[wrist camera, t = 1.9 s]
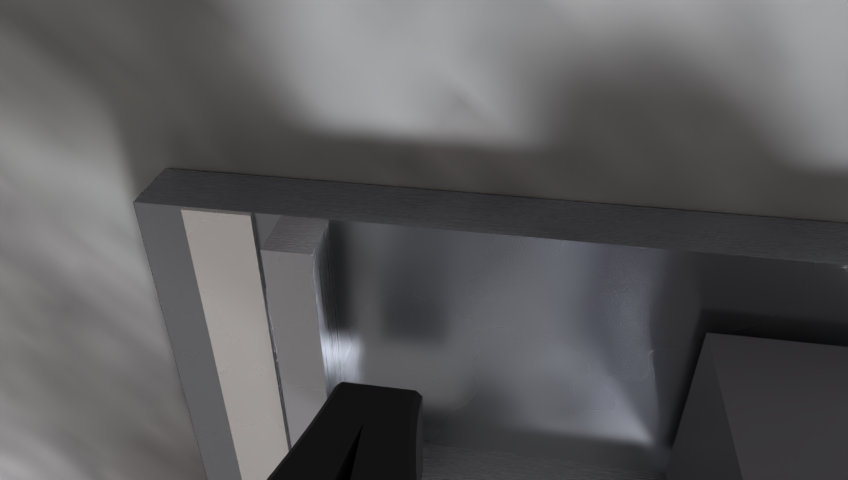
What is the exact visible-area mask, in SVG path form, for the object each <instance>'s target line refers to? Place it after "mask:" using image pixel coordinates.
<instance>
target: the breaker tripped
mask: <svg viewBox="0 0 848 480" xmlns="http://www.w3.org/2000/svg"><path fill="white" fill-rule="evenodd" d="M666 479H667V480H848V347H843V346H833V345H823V344H814V343H804V342H794V341H784V340H775V339H765V338H755V337H745V336H736V335H726V334H716V333H706V336H705V340H704V343H703V346H702V350H701V353H700V357H699V360H698V363H697V367H696V370H695V374H694V377H693V380H692V384H691V387H690V391H689V394H688V397H687V401H686V404H685V408H684V411H683V414H682V418H681V421H680V424H679V428H678V431H677V435H676V438H675V441H674V445H673V448H672V452H671V455H670V458H669V462H668V465H667V469H666Z"/></svg>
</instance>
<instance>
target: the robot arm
mask: <svg viewBox="0 0 848 480" xmlns="http://www.w3.org/2000/svg"><path fill="white" fill-rule="evenodd" d="M422 473H423V396H422V395H420V394H419V393H418V392H417V391H416V390H409V389H400V388H392V387H383V386H375V385H366V384H358V383H350V382H341V383H339V384H338V385H336V386H335V388H334V389H333V391H332V393H331V394H330V396H329V397H328V399H327V400H326V402H325V403H324V404H323V406H322V407H321V409H320V410H319V412H318V413H317V415H316V416H315V417H314V419H313V420H312V422H311V423H310V424H309V426H308V427H307V428H306V430H305V431H304V432H303V434H302V435H301V436H300V438H299V439H298V440H297V442H296V443H295V444H294V446H293V447H292V448H291V450H290V451H289V452H288V453H287V455H286V456H285V457H284V458H283V460H282V461H281V462H280V463H279V465H278V466H277V467H276V468H275V470H274V471H273V472H272V473H271V475H270V476H269V477H268V478H267V480H422Z"/></svg>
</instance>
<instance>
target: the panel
mask: <svg viewBox="0 0 848 480" xmlns="http://www.w3.org/2000/svg"><path fill="white" fill-rule="evenodd" d="M133 204H134V207H135V211H136V215H137V219H138V222H139V226H140V230H141V233H142V237H143V241H144V245H145V248H146V252H147V256H148V260H149V263H150V267H151V271H152V274H153V278H154V282H155V286H156V289H157V293H158V297H159V301H160V304H161V308H162V312H163V315H164V319H165V323H166V327H167V330H168V334H169V338H170V342H171V345H172V349H173V353H174V356H175V360H176V364H177V368H178V371H179V375H180V379H181V383H182V386H183V390H184V394H185V397H186V401H187V405H188V409H189V412H190V416H191V420H192V424H193V427H194V431H195V435H196V438H197V442H198V446H199V450H200V453H201V457H202V461H203V465H204V468H205V472H206V476H207V479H208V480H267V478H268V477H269V476H270V475H271V473H272V472H273V471H274V470H275V468H276V467H277V466H278V465H279V463H280V462H281V461H282V460H283V458H284V457H285V456H286V455H287V453H288V452H289V451H290V450H291V448H292V447H293V446H294V444H295V443H296V442H297V440H298V439H299V438H300V436H301V435H302V434H303V432H304V431H305V430H306V428H307V427H308V426H309V424H310V423H311V422H312V420H313V419H314V417H315V416H316V415H317V413H318V412H319V410H320V409H321V407H322V406H323V404H324V403H325V402H326V400H327V399H328V397H329V396H330V394H331V393H332V391H333V389H334V388H335V386H336V385H338V384H339V383H341V382H350V383H358V384H366V385H375V386H383V387H392V388H400V389H409V390H416V391H417V392H418V393H419V394H420V395H422V396H423V473H422V480H667V479H666V469H667V465H668V462H669V458H670V455H671V452H672V448H673V445H674V441H675V438H676V435H677V431H678V428H679V424H680V421H681V418H682V414H683V411H684V408H685V404H686V401H687V397H688V394H689V391H690V387H691V384H692V380H693V377H694V374H695V370H696V367H697V363H698V360H699V357H700V353H701V350H702V346H703V343H704V340H705V336H706V333H716V334H726V335H736V336H745V337H755V338H765V339H775V340H784V341H794V342H804V343H814V344H823V345H833V346H843V347H848V224H847V223H834V222H822V221H810V220H797V219H785V218H773V217H760V216H748V215H736V214H723V213H711V212H699V211H686V210H674V209H662V208H649V207H637V206H624V205H612V204H600V203H587V202H575V201H563V200H550V199H538V198H526V197H513V196H501V195H489V194H476V193H464V192H452V191H439V190H427V189H415V188H402V187H390V186H378V185H365V184H353V183H341V182H328V181H316V180H304V179H291V178H279V177H267V176H254V175H242V174H230V173H217V172H205V171H193V170H180V169H168V168H165V169H164V171H163V172H162V173H161V174H160V175H159V176H158V177H157V178H156V179H155V180H154V181H153V182H152V183H151V184H150V185H149V186H148V187H147V188H146V189H145V190H144V191H143V192H142V193H141V194H140V195H139V196H138V198H137V199H136V200H135V201H134V202H133Z"/></svg>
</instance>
